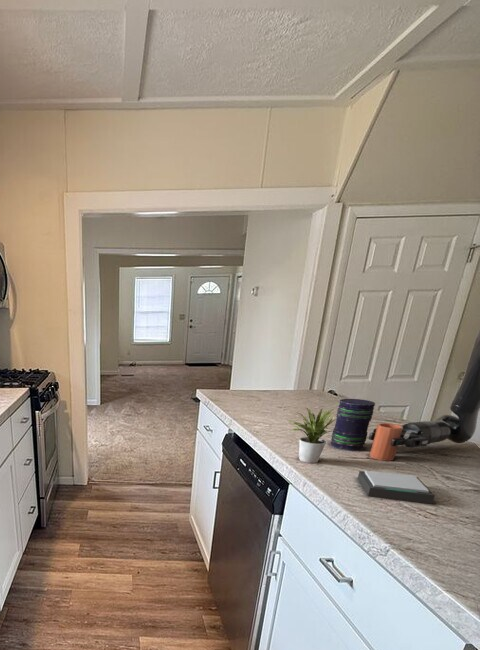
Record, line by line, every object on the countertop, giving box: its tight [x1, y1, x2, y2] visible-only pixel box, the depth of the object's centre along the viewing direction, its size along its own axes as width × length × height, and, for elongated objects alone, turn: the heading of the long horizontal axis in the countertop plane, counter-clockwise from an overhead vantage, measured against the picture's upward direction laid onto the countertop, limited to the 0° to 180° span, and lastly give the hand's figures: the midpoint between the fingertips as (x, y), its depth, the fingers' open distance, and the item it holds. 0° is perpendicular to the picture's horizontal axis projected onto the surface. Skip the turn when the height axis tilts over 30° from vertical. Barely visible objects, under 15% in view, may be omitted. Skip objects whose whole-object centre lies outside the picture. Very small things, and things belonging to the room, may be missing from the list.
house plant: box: [288, 406, 338, 464], centre depth 120 cm, size 14×14×16 cm
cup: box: [369, 422, 403, 462], centre depth 121 cm, size 6×6×10 cm
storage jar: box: [329, 398, 376, 452], centre depth 131 cm, size 10×10×15 cm
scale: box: [357, 470, 436, 505], centre depth 100 cm, size 13×12×3 cm
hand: (381, 439), depth 120 cm, fingers closed on cup, 6 cm apart
